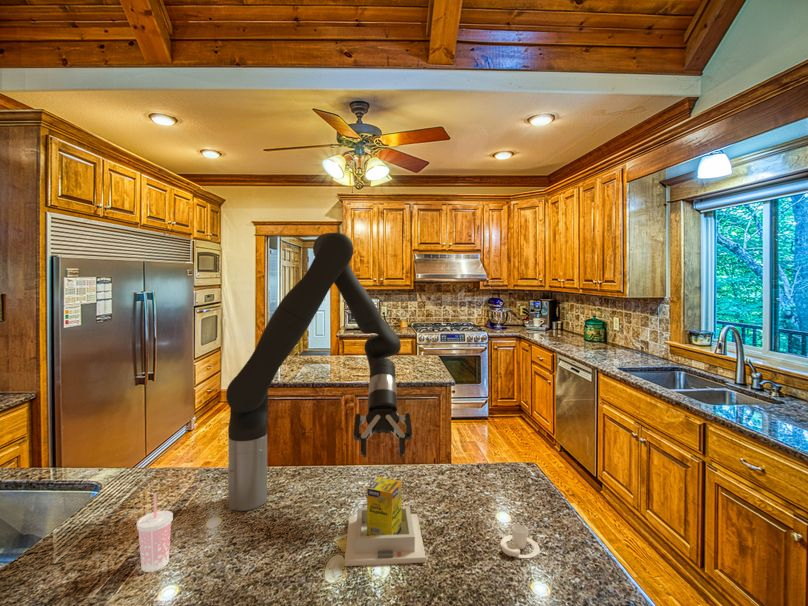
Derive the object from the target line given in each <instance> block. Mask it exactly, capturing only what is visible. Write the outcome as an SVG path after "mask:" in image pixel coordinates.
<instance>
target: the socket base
mask: <svg viewBox="0 0 808 606" xmlns="http://www.w3.org/2000/svg"><path fill="white" fill-rule="evenodd" d="M401 511H402V512H401V531H400V532H399V533H398V535H377V536H367V507H357V512H356V515H350V516H349V517H348V527H347V535H346V544H345V553H344V565H343V566H344V567H354V566H356V567H357V566H374V565H375V566H376V565H377V566H378V565H379V566H380V565H381V566H382V565H399V564H401V565H402V564H418V563H419V564H420V563H421V564H422V563H426V561H427V559H426V558H427V557H426V552H425V548H424V542H423V538H422V537H423V536H422V532H421V531H422V530H421V527H420V521H419V517H418V513H411V507H410V505H405V506H404V505H402V510H401Z"/></svg>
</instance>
